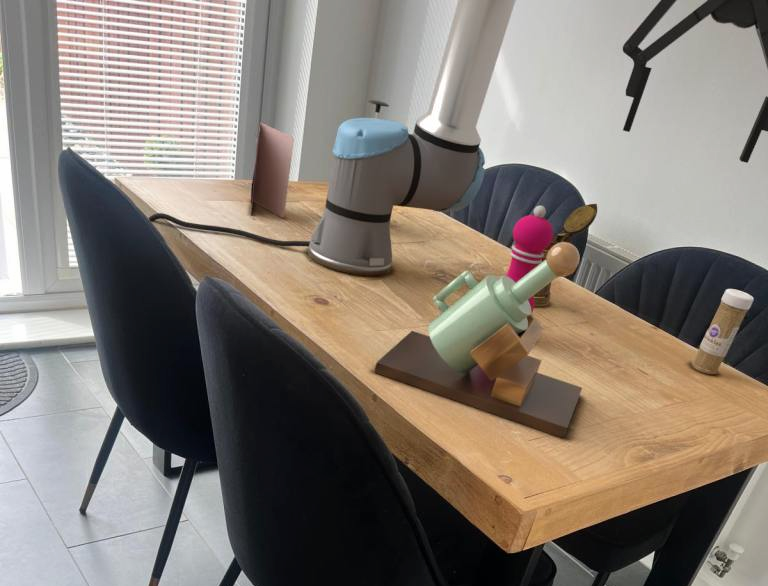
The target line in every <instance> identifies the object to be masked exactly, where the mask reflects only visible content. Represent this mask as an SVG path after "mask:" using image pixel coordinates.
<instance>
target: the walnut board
mask: <svg viewBox="0 0 768 586" xmlns="http://www.w3.org/2000/svg"><path fill="white" fill-rule="evenodd" d="M374 373H375V374H378V375H381V376H384V377H386V378H389V379H392V380H395V381H397V382H400V383H403V384H406V385H409V386H412V387H415V388H418V389H420V390H424V391H427V392H429V393H433V394H435V395H438V396H441V397H444V398H447V399H450V400H453V401H455V402H458V403H461V404H463V405H466V406H470V407H473V408H474V409H475V408H476V409H477V410H481V411H484V412H487V413H490V414H493V415H495V416H499V417H502V418H504V419H507V420H510V421H513V422H515V423H519V424H521V425H524V426H526V427H530V428H533V429H536V430H538V431H542V432H545V433H547V434H550V435H553V436H556V437H559V438H561V439H564V437H565V435H566V433H567V431H568V428H569V426H570V422H571V419H572V417H573V413H574V411H575V409H576V406H577V403H578V400H579V398H580V395H581V393H582V390H583V387H581V386H579V385H575V384H572V383H570V382H567V381H564V380H561V379H558V378H555V377H552V376H549V375H546V374H543V373H540V372H537V375H536V378H535V380H534V382H533V384H532V385H531V387H530V389H529V391H528V393H527V395H526V397H525V399H524V400H523V402H522V404H521V406H520V407H519V406H516V405H513V404H510V403H507V402H504V401H502V400H499V399H496V398H493V397H491V394H492V391H493V388H494V384H495V381H496V378H497V377H496V378H495V379H493V380H492V381H491V380H490V378H489V377H488V376H487V375H486V373H485V372H484V371H483V370H482V368H481V367H480V366H479V365H477V366H476V367H475V368H473V369H472V370H471V371H469V372H468V373H465V374H463V373H459V372H457V371H456V370H454V369H453V368H451V367H450V366H449V365H448V364H447V363H446V362H445V361H444V360H443V359H442V357H441V356H440V355H439V353H438V352H437V350H436V349H435V347H434V345H433V343H432V341H431V339H430V336H429V335H426V334H423V333H420V332H417V331H414V330H411V331H410V332H409V333H408V334H406V336H404V337H403V338H402V339H401V340H400V341H399V342H397V344H395V346H393V347H392V348H391V349H390V350H389V351H388V352H387V353H385V355H383V356H382V357H381V358H380V359H379V360H378V361H376V363H375V367H374Z"/></svg>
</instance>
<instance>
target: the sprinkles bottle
mask: <svg viewBox="0 0 768 586" xmlns="http://www.w3.org/2000/svg"><path fill="white" fill-rule="evenodd" d="M720 300H721V301H720V303H719V306H718V308H717V311H715V314H714V317H713V318H712V319H711V320H712V321H711V322H710V325H709V327H708V328H707V330H706V332H705V334H704V336H703V338H702V341H701V342H700V345H699V348H698V350H697V352H696V354H695V356H694V359H693V360H692V361H691V366H692V367H693V368H694V369H695V370H697V371H698V372H700V373H702V374H706V375H716V374H718V373H719V370H720V367H721V365H722V363H723V361H724V359H725V357H726V356H727V354H728V351H729V349H730V348H731V345H732V343H733V341H734V340H735V337H736V336H737V333H738V331H739V329H740V326H741V324H742V322H743V320H744V318H745V316H746V314H747V312H749V310H750V308H751V307H752V305H753V302H754V300H755V298H754V297H753V296H752V294H751V295H750V294H749V293H747V292H744V291H742V290H739V289H735V288H727V289H725V290H724V293H723V294H722V297H721V298H720Z"/></svg>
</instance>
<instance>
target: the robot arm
mask: <svg viewBox="0 0 768 586" xmlns="http://www.w3.org/2000/svg"><path fill="white" fill-rule="evenodd" d="M516 1H517V0H457V3H456V7H455V10H454V15H453V18H452V21H451V26H450V30H449V33H448V36H447V39H446V44H445V47H444V51H443V54H442V55H443V56H442V59H441V61H440V62H441V63H440V66H439V69H438V73H437V77H436V80H435V83H434V88H433V92H432V96H431V99H430V103H429V107H428V110H427V112H425V113H424V114H423V115H421V116H419V117H418V118H417V119H416V120H415V121H416V122H415V125H414V129H413V132H412V134H411V133H409V128H408V127H407V125H406V124H404V123H402V122H398V121H396V120H390V119H382V118H378V117H377V118H375V117H356V118H355V117H354V118H350V119H347V120H346V121H344V122H342V123H341V124H340V125H339V126H338V129H337V133H336V137H335V141H334V145H333V147H332V159H331V164H330V172H329V174H330V175H329V179H328V180H329V181H328V187H327V193H326V199H325V206H324V211H323V213H322V215H321V217H320V219H319V221H318V223H317V225H316V228H315V230H314V232H313V233H312V235H311V238H310V240H305V241H304V240H279V239H278V240H277V239H273V238H268V237H265V236H262V235H258V234H255V233H253V232H249V231H245V230H241V229H236V228H232V227H227V226H225V227H224V226H219V225H208V224H203V223H201V224H200V223H194V222H188V221H184V220H181V219H178V218H176V217H175V216H172V215H169V214H166V213H164V212H163V213H162V212H157V213H154V214H151V215H150V216H149V217H148V218H149V220H150V221H149V222H154V221H157V220H166V221H169V222H171V223H173V224H175V225H177V226H179V227H183V228H187V229H193V230H201V231H209V232H218V233H223V234H224V233H226V234H232V235H237V236H241V237H245V238H248V239H251V240H254V241H258V242H261V243H264V244H268V245H272V246H277V247H278V246H279V247H308V248H307V254H308V256H309V258H311V259H312V260H313V261H314V262H316V263H318V264H319V265H322V266H324V267H327V268H329V269H332V270H336V271H339V272H342V273H347V274H352V275H358V276H382V275H386V274H387V273H389V272H390V271H391V268H392V264H393V250H392V240H391V239H392V238H391V230H390V228H391V227H390V225H391V224H390V223H391V218H392V213H393V210H394V209H393V208H394V207H402V208H411V209H421V210H429V211H434V212H439V213H441V212H459V211H461V210H462V209H464V208H466V207H468V206H469V205H470V204H471V203H472V202H473V200H474V199H475V198H476V196H477V195H478V192H479V191H480V189H481V186H482V183H483V180H484V176H485V170H486V169H485V167H484V165H485V163H486V161H485V159H486V158H485V155H484V152H483V150H482V149H481V147H480V145H481V141H482V138H481V136H480V134H479V132H478V129H477V125H478V122H479V120H480V115H481V112H482V109H483V106H484V104H485V99H486V96H487V94H488V90H489V86H490V83H491V80H492V77H493V74H494V70H495V67H496V65H497V61H498V57H499V54H500V51H501V48H502V45H503V42H504V39H505V36H506V32H507V30H508V26H509V22H510V19H511V16H512V14H513V10H514V7H515V4H516ZM676 2H678V0H660V1H658V3H657V4H656V5H655V7H654V8H653V9H652V10H651V11H650V12H649V14H648V15H647V16H646V17H645V18H644V20H643V21H642V22H641V23H640V24H639V26H638V27H637V28H636V29H635V30H634V31H633V33H632V34H631V35H630V36H629V37H628V39H627V40H626V41H625V42H624V43H623V45H622V52H623V53H624V54H625V55H626V56H627V57H629V58H630V59H631V60H632V61H633V67H632V70H631V73H630V76H629V80H628V82H627V85H626V88H625V96H626V97H629V98H633V99H632V102H631V104H630V107H629V110H628V114H627V116H626V120H625V122H624V125H623V129H622V131H623V132H627V133H628V132H629V133H630V132H631V129H632V126H633V124H634V121H635V118H636V115H637V112H638V109H639V107H640V103H641V100H642V97H643V94H644V92H645V88H646V86H647V84H648V81H649V77H650V74H651V71H652V67H649V66H647V64H648V62H649V61H651V60H652V59H654V58H655V57H656V56H657V55H659V54H660V53H661V52H663V51H664V50H665V49H666V48H668V47H669V46H670V45H672V44H673V43H674V42H675V41H677V40H678V39H679V38H681V37H682V36H683V35H685V34H686V33H687V32H689V31H690V30H691V29H693V28H694V27H695V26H696V25H698V24H699V23H701V22H702V21H704V20H705V19H706V18H707V17H709V16H710V17H711V19H712V20H713V21H715V23H718V24H723V25H724V24H731V25H733V26H735V27H737V28H739V29H744V30H745V29H748V28H749V29H750V28H752V27H755V31H756V35H757V37H758V39H759V43H760V48H761V51H762V54H763V57H764V62H765V64H766V68H767V69H768V0H706V1H704V2H703V3H702V4H701V5H699V6H698V7H697V8H696V9H695V10H693V11H692V12H691V13H689V14H688V15H687V16H686V17H684V18H683V19H681V20H680V21H679V22H678V23H677V24H675V25H674V26H672V27H671V28H670V29H668V30H667V31H666V32H665V33H664V34H662V35H661V36H660V37H658V38H657V39H655V40H654V41H652V43H651V44H649V45H648V46H647V47H645V48H644V49H641V48H640V47H639V46H640V45H641V44H642V43H643V41H644V40H645V39H646V38H647V36H649V34H650V33H651V32H652V31H653V29H654V28H655V27H656V26H657V25H658V23H659V22H660V21H661V20H662V19H663V17H664V16H665V15H666V14H667V13H668V12H669V11H670V9H671V8H672V7H673V6H674V4H676ZM762 131H763V132H768V96H767V95H766V96H765V98H764V100H763V102H762V105H761V107H760V109H759V112H758V114H757V116H756V119H755V120H754V123H753V126H752V128H751V130H750V133H749V135H748V137H747V139H746V142H745V144H744V147H743V148H742V151H741V154H740V155H739V160H740V162H742V163H746V164H747V163H749V161H750V159H751V156H752V155H753V152H754V149H755V147H756V145H757V142H758V141H759V138H760V135H761V133H762ZM129 425H130V426H133V425H132V424H131V423H130V424H129Z"/></svg>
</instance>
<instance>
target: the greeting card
mask: <svg viewBox="0 0 768 586" xmlns="http://www.w3.org/2000/svg"><path fill="white" fill-rule="evenodd" d="M254 134H255V135H257V133H256V131H254ZM257 138H258V139H257ZM255 140H256V141H255V142H256V145H257V146H256V153H255V154H256V155H255V163H254V169H253V174H252V181H251V189H250V206H251V210H253V209H252V208H253V202H254V203H256V204H257V205H258V206H261V207H262V208H265V209H266V210H268V211H270V212H272V213H273V214H275V215H276V216H279V217H280V218H282V219H284V218H285V213H286V206H287V198H288V197H287V196H288V189H289V188H288V187H289V182H290V181H289V180H290V173H291V172H290V171H291V164H292V156H293V149H294V148H293V147H294V140H295V138H294V137H293V136H291V135H289V134H287V133H285V132H283V131H281V130H279V129H276V128H274V127H271V126H269V125H267V124H264V123H262V122H259V130H258V136H255Z"/></svg>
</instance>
